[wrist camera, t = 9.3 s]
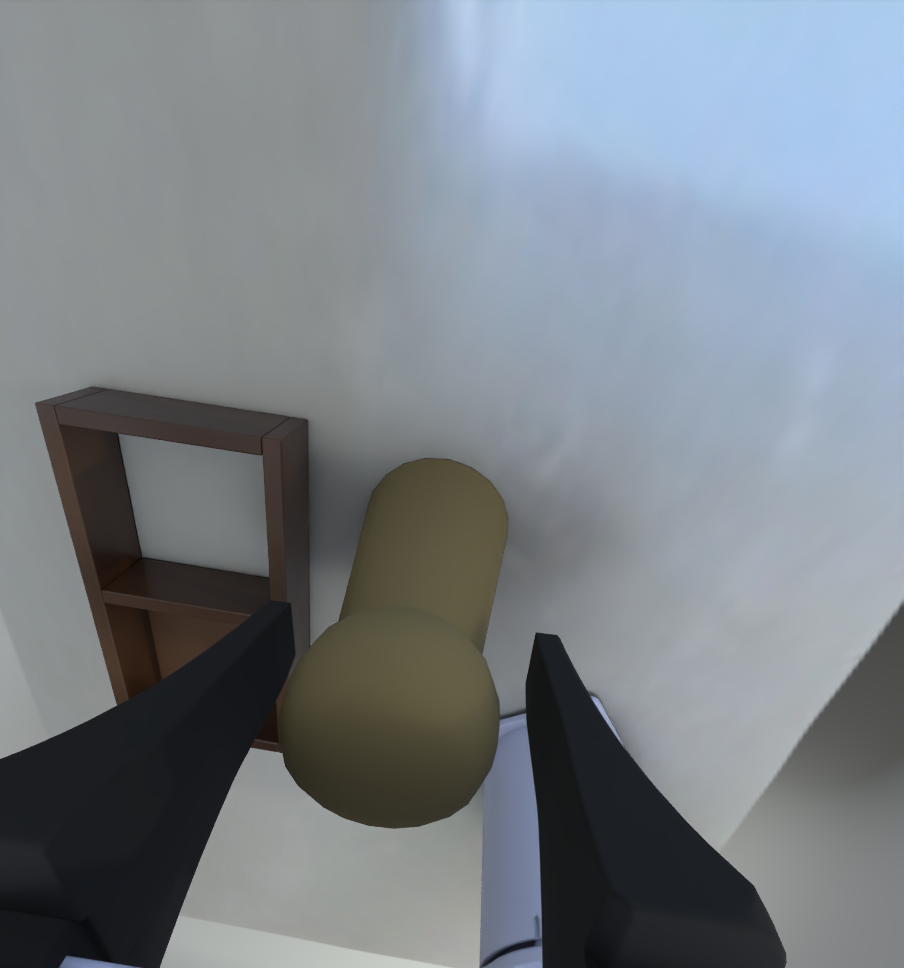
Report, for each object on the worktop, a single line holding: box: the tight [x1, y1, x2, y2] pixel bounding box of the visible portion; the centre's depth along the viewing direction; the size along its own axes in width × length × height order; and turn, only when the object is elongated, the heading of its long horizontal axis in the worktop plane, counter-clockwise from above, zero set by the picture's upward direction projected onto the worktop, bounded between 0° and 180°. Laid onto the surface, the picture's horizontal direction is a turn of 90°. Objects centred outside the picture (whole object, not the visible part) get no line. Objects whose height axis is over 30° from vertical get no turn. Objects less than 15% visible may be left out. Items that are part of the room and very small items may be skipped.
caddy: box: [35, 387, 309, 753], centre depth 21 cm, size 17×9×2 cm, turn 173°
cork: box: [278, 458, 508, 829], centre depth 14 cm, size 6×6×11 cm
